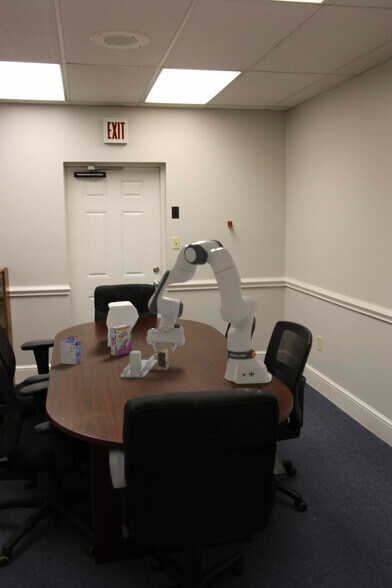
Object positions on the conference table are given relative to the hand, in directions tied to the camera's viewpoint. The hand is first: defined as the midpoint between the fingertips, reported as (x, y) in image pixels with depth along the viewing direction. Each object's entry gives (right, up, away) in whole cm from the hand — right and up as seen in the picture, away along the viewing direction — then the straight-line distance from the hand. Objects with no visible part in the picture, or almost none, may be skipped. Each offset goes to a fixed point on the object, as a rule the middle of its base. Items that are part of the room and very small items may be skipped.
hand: (163, 351), depth 255 cm
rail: (-12, -9, -2) cm, 15 cm away
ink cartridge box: (-51, -8, +12) cm, 53 cm away
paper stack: (-30, -1, +55) cm, 62 cm away
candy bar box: (-26, -5, +28) cm, 39 cm away
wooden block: (0, -9, -1) cm, 9 cm away
